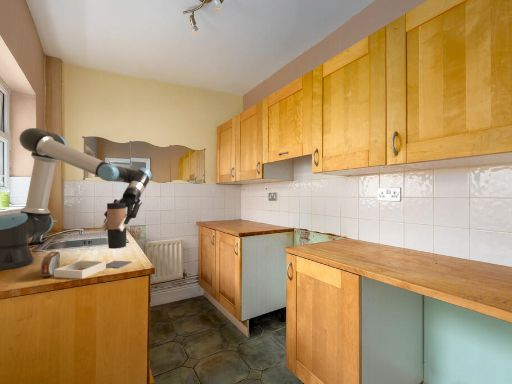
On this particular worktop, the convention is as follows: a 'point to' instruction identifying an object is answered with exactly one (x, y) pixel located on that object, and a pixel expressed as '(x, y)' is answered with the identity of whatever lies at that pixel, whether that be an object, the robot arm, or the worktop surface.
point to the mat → (117, 264)
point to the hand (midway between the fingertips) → (111, 229)
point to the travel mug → (116, 225)
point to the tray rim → (72, 271)
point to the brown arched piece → (50, 264)
